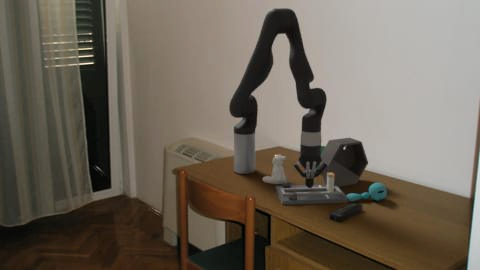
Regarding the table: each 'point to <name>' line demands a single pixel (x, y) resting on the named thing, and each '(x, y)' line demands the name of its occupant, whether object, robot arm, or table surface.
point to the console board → (309, 194)
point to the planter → (344, 161)
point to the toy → (370, 193)
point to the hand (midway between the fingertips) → (309, 187)
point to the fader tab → (330, 181)
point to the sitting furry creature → (276, 171)
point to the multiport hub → (345, 212)
